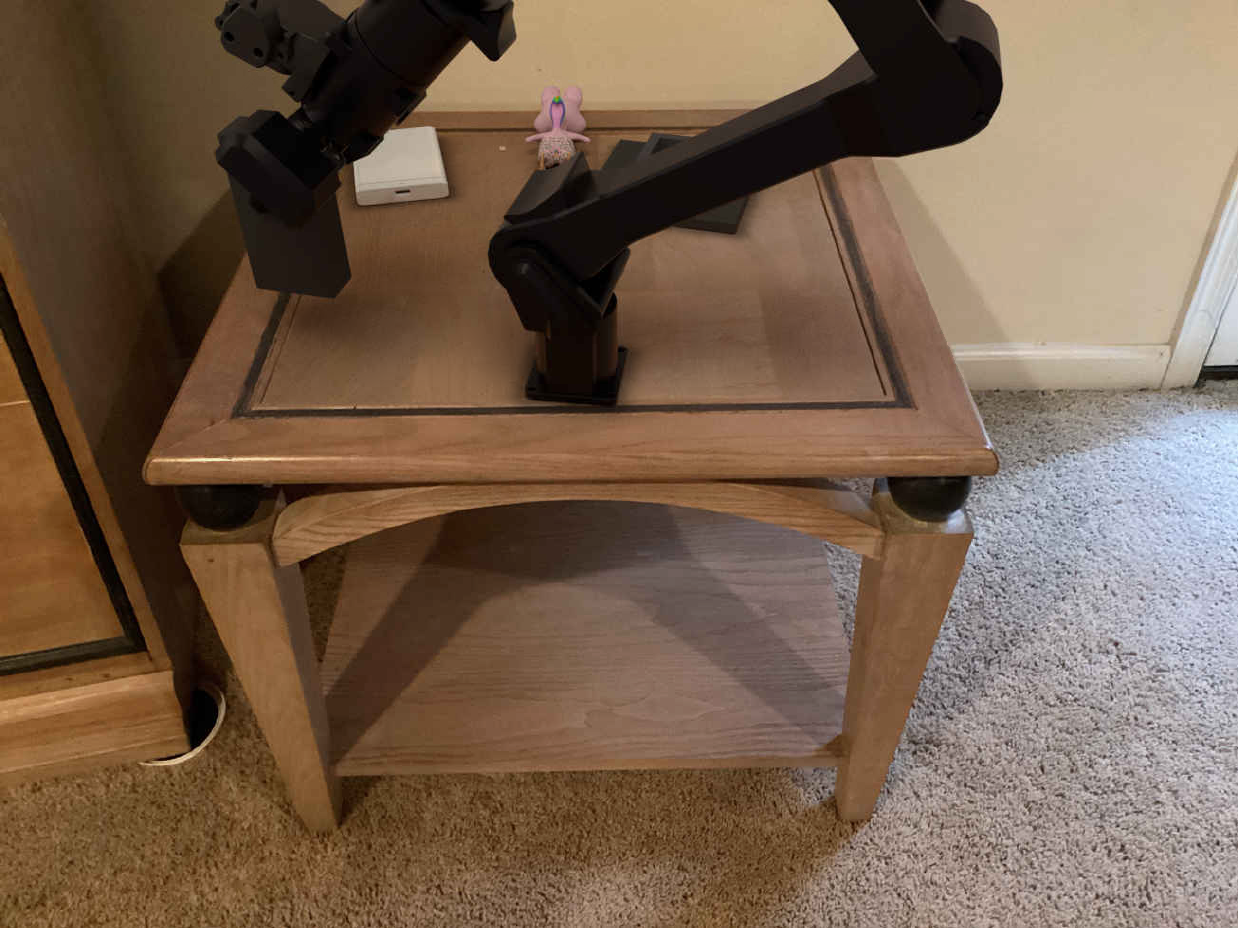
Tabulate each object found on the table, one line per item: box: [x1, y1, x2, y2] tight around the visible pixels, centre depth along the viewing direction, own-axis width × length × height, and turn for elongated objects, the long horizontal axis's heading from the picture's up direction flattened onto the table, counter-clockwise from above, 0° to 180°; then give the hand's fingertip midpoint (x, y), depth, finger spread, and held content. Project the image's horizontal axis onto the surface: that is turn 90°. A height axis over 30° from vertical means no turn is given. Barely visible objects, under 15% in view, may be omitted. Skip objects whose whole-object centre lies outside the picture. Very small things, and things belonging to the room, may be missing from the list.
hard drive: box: [353, 125, 450, 206], centre depth 100 cm, size 2×8×12 cm
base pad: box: [600, 131, 750, 235], centre depth 97 cm, size 14×14×3 cm
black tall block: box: [216, 115, 352, 300], centre depth 73 cm, size 3×6×12 cm, turn 77°
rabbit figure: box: [524, 85, 591, 170], centre depth 104 cm, size 6×6×15 cm
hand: (267, 196), depth 72 cm, fingers closed on black tall block, 3 cm apart
